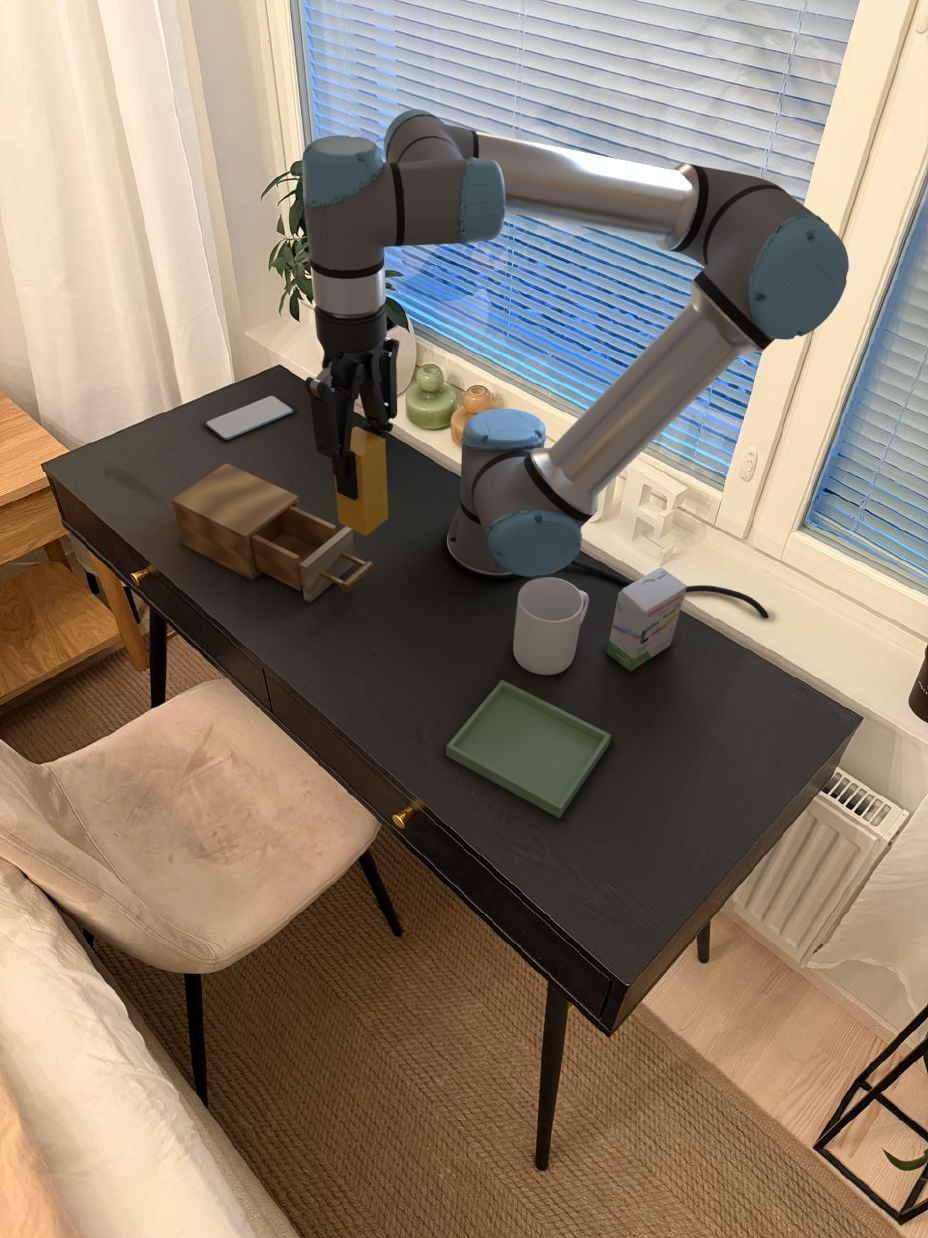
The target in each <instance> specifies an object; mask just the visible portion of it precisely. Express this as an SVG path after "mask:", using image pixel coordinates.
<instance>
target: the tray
mask: <svg viewBox="0 0 928 1238" xmlns="http://www.w3.org/2000/svg"><path fill="white" fill-rule="evenodd" d="M611 739H612V734H610V733H608V732H607V731H604V730H602V729H601V728H599V727H597V726H594V725H593V724H591V723H589V722H587V721H585V720H582V719H581V718H580V717H579V718H578V717H577V716H575V715H573V714H571V713H570V712H567V711H565V710H563V709H561V708H559V707H557V706H555V705H553V704H551V703H549V702H547V701H545V700H543V699H541V698H539V697H537V696H535V695H533V694H531V693H529V692H527V691H525V690H524V689H522V688H519V687H517V686H515V685H513V684H511V683H510V682H508V681H505V680H503V679H501V680H500V681H499V683H498V684H497V685H496V686H495V687H494V688H493V690H492V691H490V693H489V694H488V695H487V697H486V698H485V699H484V700H483V702H482V703H481V704H480V705H479V706H478V707H477V709H476V710H475V711H474V712H473V713H472V715H470V717H469V718H468V719H467V721H465V723H464V724H463V726H462V727H461V728H460V729H459V730H458V731H457V733H456V734H454V736H453V737H452V738H451V740H450V741H449V742H448V744H446V747H445V756H446V757H448V758H449V759H451V760H453V761H455V762H456V763H459V764H460V765H462V766H464V767H466V768H467V769H470V770H471V771H473V772H475V773H477V774H479V775H480V776H482V777H484V778H486V779H488V780H489V781H491V782H493V783H495V784H497V786H500V787H502V788H504V789H505V790H507V791H508V792H511V793H513V794H514V795H516V796H518V797H520V798H522V799H524V800H525V801H527V802H529V803H531V804H533V805H534V806H536V807H538V808H540V809H542V810H543V811H545V812H547V813H549V814H551V815H553V816H554V817H555V818H557V819H560V818H561V817H562V816H563V814H564V813H565V811H566V810H567V808H568V807H569V805H570V804H571V802H572V801H573V799H574V798H575V796H576V795H577V793H578V792H579V790H580V789H581V787H582V786H583V784H584V783H585V781H586V780H587V778H588V777H589V776H590V774H591V773H592V771H593V769H594V768H595V767H596V765H597V763H598V762H599V760H600V759H601V758H602V756H603V754H604V753H605V751H606V750H607V749H608V747H609V746H610V744H611V743H610V742H611Z"/></svg>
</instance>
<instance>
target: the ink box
mask: <svg viewBox="0 0 928 1238" xmlns="http://www.w3.org/2000/svg"><path fill="white" fill-rule="evenodd" d="M687 586H688V585H687V584H685V583H684V582H682V581H681V580H680V579H678V578H677V577H676V576H674V575H673V574H672V573H670V572H669V571H668V570H666V569H665V568H663V567H659V568H657V569H655V570H653V571H651V572H649V573H648V574H646V575H644V576H642V577H641V578H639V579H637V580H636V581H635V582H634V583H632V584H630V585H626V586H625V587H623V588H622V589H621V590H620V591H618V595H617V599H616V605H615V609H614V615H613V619H612V624H611V629H610V634H609V638H608V643H607V646H606V647H607V648H606V654H607V655H608V656H610V657H611V658H612V659H614V661H616V662H617V663H618V664H620V665H621V666H622V667H623V668H625V669H626V670H627V671H629V672H632V671H634V670H635V669H636V668H638V667H640V666H641V665H642V664H644V663H645V662H647V661H649V660H651V659H652V658H653V657H655V656H656V655H658V654H659V653H661V652H662V651H664V650H666V649H667V648H668V647H670V646H671V644H672V640H673V637H674V634H675V630H676V628H677V627H676V626H677V623H678V620H679V615H680V612H681V608H682V606H683V602H684V600H685V599H684V598H685V595H686V593H685V592H686V588H687Z"/></svg>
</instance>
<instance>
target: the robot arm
mask: <svg viewBox="0 0 928 1238" xmlns="http://www.w3.org/2000/svg"><path fill="white" fill-rule="evenodd" d="M383 153H384V158H385V159H384V160H385V161H383V158H382V153H381V149H380V147H379V146H378V145H377V143H375V142H374V141H373V140H370V139H369V138H367V137H362V136H349V135H348V134H347V135H344V134H339V135H338V134H337V135H329V136H325V137H320V138H317V139H315V140H313V141H312V142H310V143H309V144H308V145H307V146H306V148H305V149H304V151H303V153H302V157H301V174H302V199H303V208H304V218H305V226H306V227H305V229H306V236H307V245H308V246H307V247H308V254H309V264H310V274H311V275H310V276H311V284H312V285H311V287H312V296H313V302H314V304H315V306H314V309H313V310H314V321H315V334H316V338H317V341H318V342H319V344H320V345H321V348H322V350H323V357H322V362H321V369H322V370H321V371H320V372H319V373H318V375H316V377H315V378H314V377H312V376H308V377H307V378H306V379H305V381H304V387H305V389H306V391H307V393H308V395H309V398H310V405H311V407H310V408H311V415H312V421H313V422H312V423H313V433H314V440H315V441H314V443H315V450H316V452H317V453H319V454H321V455H323V456H325V457H326V458H329V459H331V468H332V474H333V476H334V477H335V476H336V483H337V492H338V493H340V494H342V495H344V496H346V497H348V498H350V499H352V500H356V499H357V498H358V487H357V473H356V458H355V452H353V451H351V450H350V446H351V435H352V429H353V426H354V425H353V424H354V413H355V403H356V401H357V400H359V398H360V402H361V406H362V409H363V414H364V417H365V421H366V423H367V424H369V425H367V424H366V425H363V426H362V427H361V429H363V430H366V431H368V432H370V433H372V434H375V435H377V436H379V437H382V438H384V439H385V448H386V446H387V440H386V439H387V437H386V432H387V433H391V432H392V430H393V429H394V424H393V423H391V422H389V421H390V419H392V420H395V418H397V415H398V374H397V373H398V372H397V371H398V370H397V369H398V367H397V358H398V354H399V349H400V341H399V340H398V339H395V338H393V337H390V336H387V334H388V329H387V328H388V326H387V307H386V305H385V302H386V300H387V288H386V284H387V283H386V267H385V266H386V263H385V248H390V247H391V248H392V247H396V248H397V247H409V246H411V247H412V246H431V245H432V246H433V245H435V246H436V245H454V244H455V245H456V244H462V245H468V244H471V243H479V242H486V241H491V240H495V239H496V238H498V237H499V235H500V234H501V232H502V230H503V227H504V222H505V218H506V217H505V216H506V214H507V213H508V214H513V215H519V216H524V217H530V218H536V219H541V220H545V221H546V220H547V221H550V222H551V221H552V222H556V223H557V222H558V223H562V224H569V225H574V226H580V227H584V228H589V229H595V230H602V231H607V232H613V233H618V234H625V235H630V236H636V237H642V238H645V239H652V240H655V242H656V244H657V247H658V248H660V249H661V250H663V251H667V252H673V253H678V254H681V255H683V256H686V257H687V258H690V259H691V260H693V261H695V262H697V263H698V264H699V265H701V266H702V267H703V268H702V269H701V271H700V272H699V273H698V274H697V275H696V276H695V277H694V278H693V279H692V280H691V283H690V284H691V285H690V300H689V301H688V303H687V305H685V306H684V308H683V309H682V310H681V311H680V312H679V313H678V314H676V316H675V317H674V318H673V319H672V320H671V321H670V322H669V324H667V325H666V327H665V328H664V329H663V330H662V331H660V333H659V334H658V335H657V336H656V337H655V338H654V339H653V340H652V341H651V343H649V344H648V345H647V347H645V349H644V350H643V351H642V352H641V353H640V354H638V356H637V357H636V358H635V359H634V360H633V361H632V362H631V363H630V364H629V365H628V366H627V367H626V368H625V369H624V371H622V373H621V374H620V375H619V376H618V377H617V378H616V379H615V380H614V381H613V382H612V383H611V384H610V385H609V386H608V387H607V388H606V389H605V390H604V392H603V393H602V394H600V395H599V397H598V398H597V399H596V400H594V402H593V403H592V404H591V405H590V406H589V407H588V409H586V410H585V411H584V412H583V413H582V415H580V416H579V417H578V419H576V421H575V422H574V423H573V424H572V425H571V426H570V427H569V428H568V429H567V430H566V431H565V432H564V433H563V434H562V435H561V436H560V438H559V439H558V440H557V441H556V442H554V444H553V445H552V446H550V447H545V442H546V441H547V435H546V426H545V424H544V422H543V421H542V420H541V419H540V418H539V417H537V416H536V415H535V414H532V413H530V412H527V411H524V410H520V409H514V408H493V409H487V410H484V411H481V412H478V413H476V414H474V415H473V416H471V417H469V418H468V419H467V420H466V422H465V423H464V425H463V428H462V438H461V439H460V444H461V461H460V466H461V467H460V490H459V491H460V494H459V506H458V508H457V511H456V513H455V515H454V517H453V519H452V522H451V524H450V526H449V528H448V532H447V535H446V536H447V538H446V550H447V554H448V557H449V558H450V559H451V561H452V562H453V563H454V564H455V565H456V566H457V567H458V568H459V569H460V570H462V571H464V572H465V573H467V574H469V575H472V576H473V577H477V578H480V579H481V578H482V579H486V580H493V581H494V580H495V581H499V580H501V581H503V580H512V579H515V578H519V577H526V578H527V577H528V578H532V577H533V578H534V577H537V576H542V577H544V576H547V575H550V574H554V573H556V572H558V571H561V570H562V569H563V568H566V567H567V566H568V565H570V564H571V565H573V566H576V567H579V568H581V569H583V570H587V571H589V572H593V573H595V574H598V575H601V576H604V577H607V578H609V579H611V580H614V581H616V582H619V583H620V584H623V585H626V586H628V585H630V584H632V583H634V582H636V581H635V580H632V579H629V578H626V577H625V576H622V575H619V574H617V573H614V572H612V571H609V570H607V569H605V568H602V567H599V566H596V565H594V564H590V563H588V562H585V561H583V560H580V559H577V558H576V557H577V556H578V554H579V553H580V550H581V548H582V541H583V534H582V529H581V528H582V527H584V526H585V524H586V523H587V522H589V521H590V520H591V518H592V517H593V516H595V515H596V513H598V510H599V494H601V492H602V491H603V490H604V489H605V488H606V487H607V486H609V485H610V484H611V482H613V481H614V480H615V479H616V478H617V477H618V476H619V475H620V474H621V473H622V472H623V471H624V470H625V469H626V468H627V467H628V466H629V465H630V464H631V463H632V462H633V461H634V460H636V458H637V457H638V456H639V455H640V454H641V453H642V452H643V451H644V450H645V449H646V448H648V446H649V445H651V443H652V442H653V441H654V440H655V439H656V438H657V437H659V436H660V434H662V432H663V431H664V430H666V429H667V428H668V426H670V425H671V424H672V423H673V422H674V421H675V420H676V419H677V418H678V417H679V416H680V415H681V414H682V413H683V412H684V411H685V410H686V409H687V408H688V407H689V406H690V405H691V404H692V403H693V402H694V401H695V400H696V399H697V398H698V397H699V396H700V395H701V394H702V393H703V392H704V391H706V389H708V387H709V386H710V385H711V384H712V383H714V382H715V381H716V380H717V379H718V378H719V377H720V376H721V375H722V373H724V372H725V371H726V370H727V369H728V368H729V367H730V366H731V365H732V364H733V363H734V362H735V361H736V360H737V359H738V358H739V357H740V356H741V355H744V354H752V353H753V354H754V353H755V354H756V353H763V352H764V351H765V350H766V348H768V347H769V346H770V345H771V344H772V343H773V342H774V341H775V340H781V341H782V340H783V341H784V340H785V341H788V340H793V339H795V337H797V336H798V337H801V338H802V337H803V336H806V335H808V334H810V333H811V332H813V331H814V330H815V329H816V330H817V328H818V327H820V326H821V325H822V324H823V323H824V322H825V321H826V320H828V318H829V317H830V316H831V314H833V311H835V309H836V307H837V306H838V304H839V302H840V301H841V298H842V297H843V295H844V293H845V289H846V286H847V281H848V280H847V277H848V272H849V269H850V263H849V262H850V261H849V255H848V251H847V248H846V246H845V244H844V242H843V240H842V239H841V238H840V237H839V236H838V234H837V233H836V232H835V231H834V230H833V228H831V226H830V225H829V223H828V222H826V221H825V220H823V219H822V218H821V216H819V215H816V214H815V213H814V212H813V211H811V210H810V209H808V208H807V207H806V206H804V205H803V204H802V203H801V202H800V201H798V200H797V199H796V198H794V197H793V196H792V195H790V194H789V193H788V192H787V190H785V189H784V188H782V187H781V186H780V185H778V184H776V183H774V182H772V181H770V180H767V179H764V178H761V177H758V176H756V175H755V176H754V175H750V174H745V173H744V174H743V173H740V172H735V171H731V170H725V169H720V168H719V169H718V168H714V167H713V168H712V167H707V166H701V165H697V164H692V163H686V162H683V163H680V164H678V165H677V166H675V167H674V168H673V169H667V168H662V167H657V166H652V165H648V164H643V163H637V162H632V161H628V160H621V159H617V158H612V157H609V156H608V157H607V156H603V155H599V154H593V153H589V152H583V151H579V150H573V149H568V148H563V147H558V146H553V145H549V144H543V143H538V142H533V141H528V140H523V139H518V138H514V137H509V136H504V135H498V134H494V133H490V132H484V131H479V130H473V129H469V128H465V127H460V126H456V125H451V124H447V123H446V124H445V123H444V121H442V120H441V118H439V117H438V116H436V115H435V114H433V113H431V112H429V111H428V110H424V109H416V108H415V109H409V110H406V111H404V112H402V113H400V114H399V115H397V116H396V117H395V118H394V119H393V120H392V121H391V122H390V124H389V125H388V127H387V130H386V132H385V135H384V138H383ZM386 404H387V405H386ZM686 586H687V588H686V592H685V594H687V593H696V592H706V593H707V592H708V593H715V594H721V595H724V596H729V597H732V598H736V599H738V600H741V601H743V602H745V603H747V604H749V605H750V606H751V607H753V608H754V610H756V611H757V612H758V613H759V615H760V617H762V618H764V619H768V618H770V616H769V613H768V612H767V610H766V609H765V608H764V607H763V606H762V605H761V604H760V603H759V602H758V601H757V600H756V599H754V598H753V597H751V596H749V595H747V594H744V593H743V592H739V591H737V590H733V589H728V588H725V587H721V586H715V585H708V584H707V585H703V584H700V585H690V586H689V585H686Z"/></svg>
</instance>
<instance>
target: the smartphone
mask: <svg viewBox="0 0 928 1238" xmlns="http://www.w3.org/2000/svg"><path fill="white" fill-rule="evenodd" d="M294 411H295V410H294V408H293V407H292V406H290V405H289V404H287V402H284V401H283V400H282V399H281V398H279V397H278V396H276V395H269V396H266V397H264V398H261V399H259V400H256V401H254V402H252V403H249V404H246V405H244V406H242V407H239V408H237V409H234V410H231V411H230V412H227V413H224V414H222V415H220V416H217V417H213V418H212V419H210V420H209V419H208V420H207V421H205V423H204V424H205V426H206V427H207V428H208V429H210V430H211V431H212V432H213V433H214V434H216V435H217V436H218V437H220V438H221V439H222V440H224V441H229V440H231V439H233V438H235V437H238V436H240V435H243V434H245V433H247V432H251V431H252V430H255V429H257V428H259V427H261V426H265V425H267V424H269V423H271V422H273V421H276V420H278V419H281V418H283V417H285V416H287V415H290V414H292V413H294Z"/></svg>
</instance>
